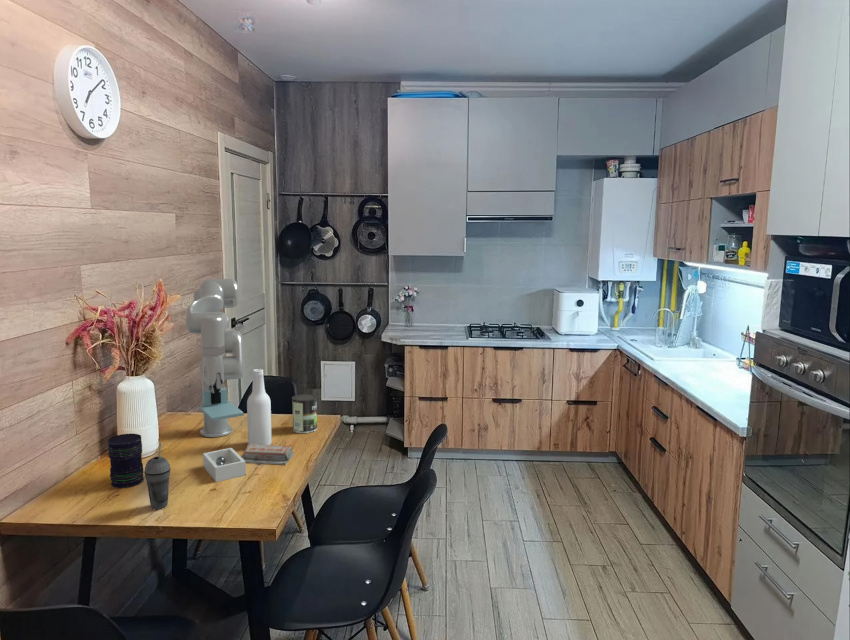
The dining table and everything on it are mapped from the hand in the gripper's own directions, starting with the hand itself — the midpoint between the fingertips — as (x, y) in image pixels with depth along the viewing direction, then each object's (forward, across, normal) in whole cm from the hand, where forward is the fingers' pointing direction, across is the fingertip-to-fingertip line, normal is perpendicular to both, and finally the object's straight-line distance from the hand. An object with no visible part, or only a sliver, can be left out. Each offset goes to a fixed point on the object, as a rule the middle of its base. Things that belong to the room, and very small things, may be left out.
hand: (215, 402), depth 203 cm
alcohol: (+23, -11, +20) cm, 32 cm away
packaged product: (+24, +4, +17) cm, 29 cm away
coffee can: (+23, -17, +42) cm, 51 cm away
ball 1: (+21, +3, 0) cm, 21 cm away
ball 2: (+21, +7, -1) cm, 22 cm away
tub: (+23, +7, 0) cm, 24 cm away
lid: (+2, +7, 0) cm, 7 cm away
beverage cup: (+23, +22, -24) cm, 40 cm away
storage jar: (+23, -2, -29) cm, 37 cm away
